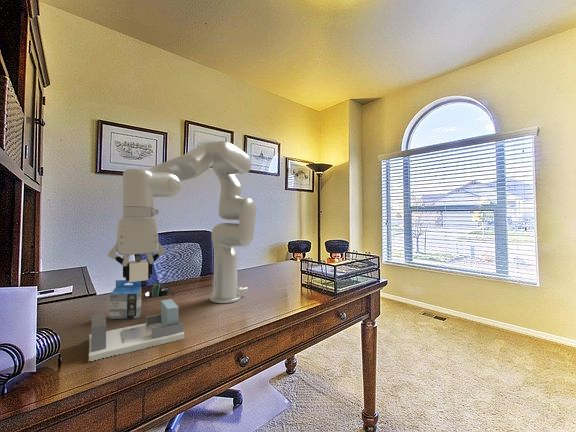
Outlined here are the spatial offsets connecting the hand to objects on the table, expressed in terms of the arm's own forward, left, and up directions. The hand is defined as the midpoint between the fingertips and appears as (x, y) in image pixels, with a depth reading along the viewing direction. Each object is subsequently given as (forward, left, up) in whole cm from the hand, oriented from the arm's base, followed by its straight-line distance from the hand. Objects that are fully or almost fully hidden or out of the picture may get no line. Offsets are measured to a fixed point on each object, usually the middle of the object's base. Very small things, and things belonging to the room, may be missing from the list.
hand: (137, 277), depth 78 cm
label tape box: (+1, -21, -18) cm, 27 cm away
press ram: (-8, 0, -16) cm, 18 cm away
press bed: (0, 0, -16) cm, 16 cm away
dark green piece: (-15, -44, -18) cm, 50 cm away
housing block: (0, 0, 0) cm, 0 cm away
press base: (0, 0, -17) cm, 17 cm away
